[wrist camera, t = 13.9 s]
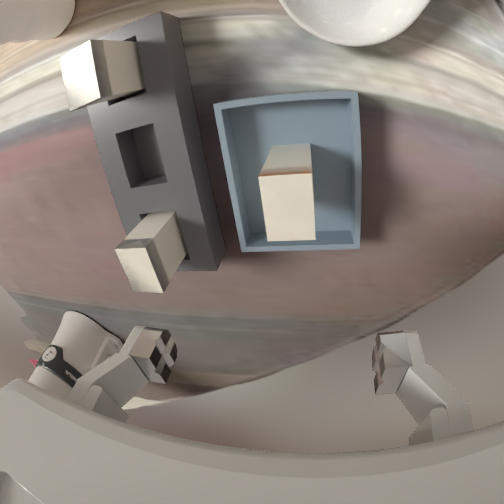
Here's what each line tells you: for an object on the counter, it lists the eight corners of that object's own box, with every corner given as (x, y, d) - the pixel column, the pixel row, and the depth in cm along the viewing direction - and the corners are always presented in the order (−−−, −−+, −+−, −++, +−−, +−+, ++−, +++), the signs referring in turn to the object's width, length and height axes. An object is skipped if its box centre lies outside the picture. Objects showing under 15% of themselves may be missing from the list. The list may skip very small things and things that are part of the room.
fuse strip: (225, 250, 35) (216, 270, 31) (154, 252, 37) (140, 270, 34) (178, 17, 20) (160, 11, 17) (99, 49, 22) (76, 50, 19)
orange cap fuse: (313, 192, 28) (315, 239, 21) (278, 194, 29) (267, 241, 21) (310, 143, 25) (311, 173, 18) (272, 145, 26) (258, 176, 19)
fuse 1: (156, 86, 24) (100, 97, 16) (127, 96, 25) (69, 111, 17) (148, 43, 21) (90, 39, 14) (119, 54, 22) (59, 57, 15)
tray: (355, 231, 30) (359, 248, 27) (247, 234, 33) (241, 252, 30) (351, 90, 22) (357, 91, 19) (223, 100, 25) (213, 104, 22)
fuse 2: (194, 241, 34) (163, 292, 26) (168, 242, 34) (133, 291, 27) (183, 202, 31) (145, 247, 23) (156, 205, 32) (114, 249, 24)
